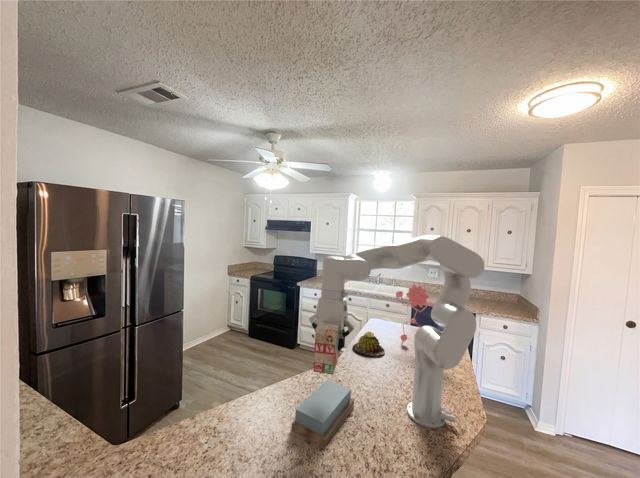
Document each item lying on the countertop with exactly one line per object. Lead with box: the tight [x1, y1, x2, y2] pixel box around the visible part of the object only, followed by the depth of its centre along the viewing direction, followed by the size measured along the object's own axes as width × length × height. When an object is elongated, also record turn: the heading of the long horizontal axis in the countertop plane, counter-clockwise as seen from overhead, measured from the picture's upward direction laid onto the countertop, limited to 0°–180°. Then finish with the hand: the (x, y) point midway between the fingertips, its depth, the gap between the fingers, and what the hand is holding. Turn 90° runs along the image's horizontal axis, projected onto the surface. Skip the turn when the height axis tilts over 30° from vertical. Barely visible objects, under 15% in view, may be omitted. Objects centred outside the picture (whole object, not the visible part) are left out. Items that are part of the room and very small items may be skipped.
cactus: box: [352, 331, 386, 357], centre depth 144 cm, size 17×16×10 cm
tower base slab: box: [290, 397, 355, 448], centre depth 90 cm, size 12×22×4 cm, turn 150°
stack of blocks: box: [313, 322, 342, 376], centre depth 89 cm, size 21×6×12 cm, turn 168°
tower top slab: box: [294, 379, 352, 436], centre depth 90 cm, size 10×20×4 cm, turn 149°
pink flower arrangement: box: [395, 284, 434, 346], centre depth 152 cm, size 15×26×35 cm, turn 44°
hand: (329, 345), depth 89 cm, fingers closed on stack of blocks, 7 cm apart
